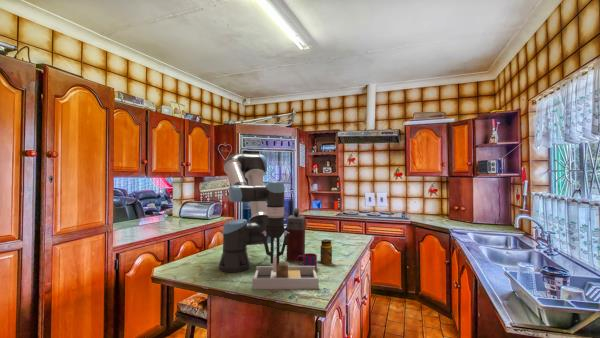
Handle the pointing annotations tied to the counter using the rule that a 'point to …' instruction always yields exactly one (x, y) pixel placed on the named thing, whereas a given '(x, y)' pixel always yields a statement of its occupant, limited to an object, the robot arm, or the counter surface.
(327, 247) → the condiment
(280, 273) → the block
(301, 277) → the box
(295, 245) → the dark red tall piece
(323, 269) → the counter surface
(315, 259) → the mug
